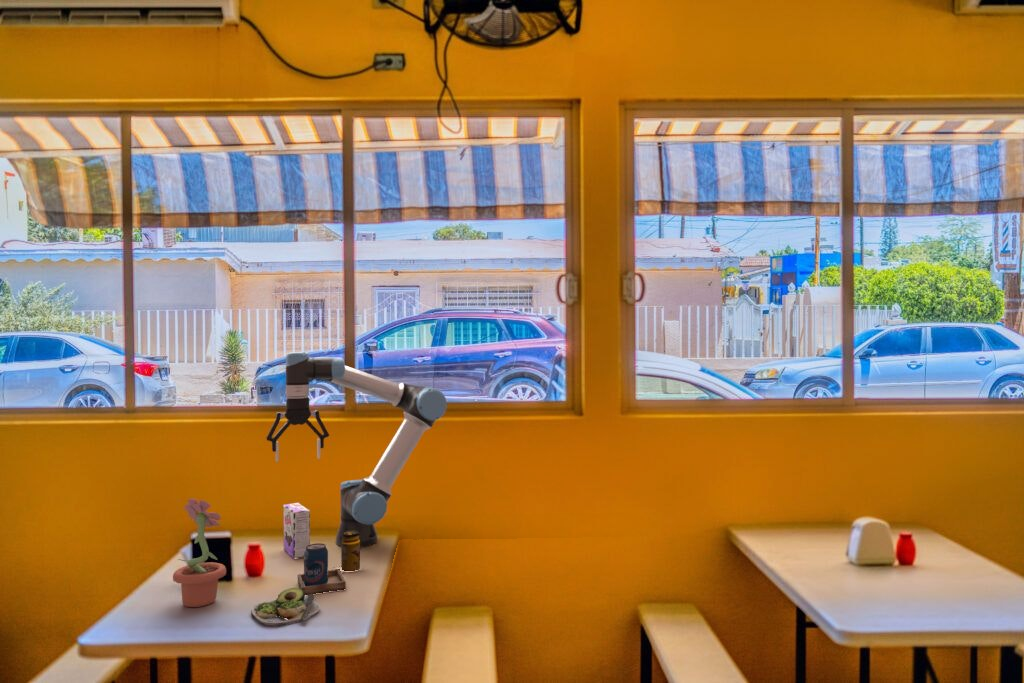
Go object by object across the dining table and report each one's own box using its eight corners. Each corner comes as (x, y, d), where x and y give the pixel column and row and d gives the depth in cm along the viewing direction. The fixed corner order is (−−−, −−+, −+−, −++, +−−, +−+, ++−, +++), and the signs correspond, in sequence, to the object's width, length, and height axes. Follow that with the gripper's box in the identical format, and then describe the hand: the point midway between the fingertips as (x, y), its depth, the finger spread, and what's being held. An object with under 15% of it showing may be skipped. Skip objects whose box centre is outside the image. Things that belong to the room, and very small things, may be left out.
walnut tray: (339, 576, 208) (339, 568, 208) (345, 590, 197) (345, 581, 197) (297, 582, 203) (297, 574, 203) (301, 596, 192) (301, 587, 192)
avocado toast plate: (334, 618, 177) (334, 601, 177) (266, 636, 166) (266, 618, 166) (309, 597, 192) (309, 581, 192) (245, 612, 181) (245, 595, 181)
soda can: (302, 591, 194) (302, 550, 194) (305, 582, 200) (305, 543, 201) (327, 589, 195) (326, 548, 195) (328, 581, 202) (328, 542, 202)
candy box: (282, 549, 237) (282, 504, 237) (299, 547, 240) (299, 501, 240) (293, 559, 225) (293, 511, 226) (310, 556, 229) (310, 509, 229)
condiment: (364, 570, 215) (364, 533, 215) (339, 575, 210) (338, 537, 210) (356, 564, 221) (356, 528, 221) (331, 568, 216) (331, 532, 216)
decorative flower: (240, 597, 191) (239, 494, 192) (203, 615, 178) (202, 504, 179) (200, 591, 196) (200, 490, 197) (161, 608, 183) (161, 500, 184)
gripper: (259, 399, 216) (259, 464, 216) (336, 396, 226) (337, 458, 225) (258, 398, 223) (258, 460, 223) (333, 395, 232) (334, 455, 232)
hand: (298, 459), depth 224 cm, fingers open, 13 cm apart
